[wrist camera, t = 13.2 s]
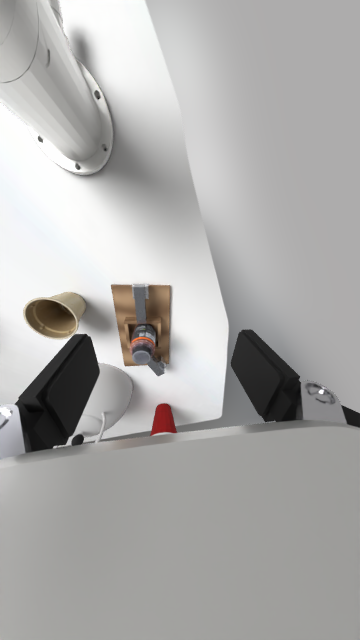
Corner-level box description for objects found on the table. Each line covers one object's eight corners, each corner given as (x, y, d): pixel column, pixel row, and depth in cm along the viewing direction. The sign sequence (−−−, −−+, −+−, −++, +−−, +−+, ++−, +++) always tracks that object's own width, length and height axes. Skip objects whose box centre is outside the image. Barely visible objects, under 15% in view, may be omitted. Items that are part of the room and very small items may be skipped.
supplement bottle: (142, 342, 45) (137, 372, 35) (129, 328, 42) (120, 355, 32) (159, 333, 44) (159, 360, 34) (147, 317, 41) (144, 343, 31)
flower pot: (101, 304, 39) (87, 320, 31) (79, 326, 41) (61, 347, 33) (66, 276, 35) (40, 287, 27) (43, 303, 37) (13, 319, 29)
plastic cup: (144, 412, 62) (141, 447, 52) (157, 396, 58) (157, 431, 48) (167, 417, 66) (169, 451, 55) (181, 403, 62) (185, 436, 52)
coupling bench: (111, 284, 37) (107, 288, 34) (169, 285, 38) (170, 289, 36) (125, 364, 49) (123, 372, 46) (168, 362, 51) (169, 369, 48)
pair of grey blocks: (133, 281, 36) (129, 287, 32) (166, 282, 37) (167, 287, 33) (141, 366, 49) (140, 378, 45) (165, 365, 50) (166, 376, 46)
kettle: (94, 417, 60) (62, 505, 40) (40, 387, 49) (-39, 486, 29) (146, 389, 56) (139, 472, 36) (99, 351, 45) (54, 437, 26)
